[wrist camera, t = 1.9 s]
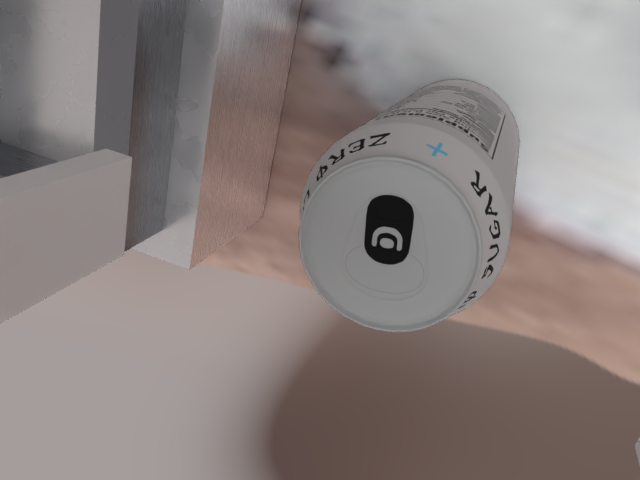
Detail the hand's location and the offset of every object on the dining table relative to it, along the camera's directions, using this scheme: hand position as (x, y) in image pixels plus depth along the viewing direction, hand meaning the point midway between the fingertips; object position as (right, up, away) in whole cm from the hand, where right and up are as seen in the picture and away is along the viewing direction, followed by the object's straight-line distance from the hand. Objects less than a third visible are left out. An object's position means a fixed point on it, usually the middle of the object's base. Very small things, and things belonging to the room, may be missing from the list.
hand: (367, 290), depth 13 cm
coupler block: (-9, +11, +18) cm, 23 cm away
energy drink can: (+5, +6, +15) cm, 17 cm away
